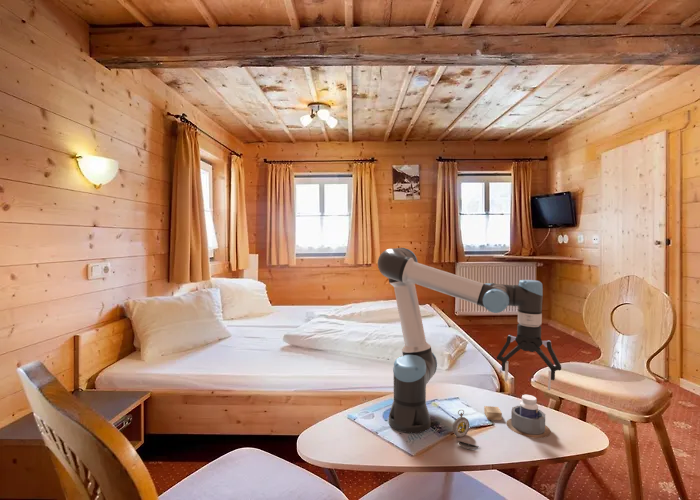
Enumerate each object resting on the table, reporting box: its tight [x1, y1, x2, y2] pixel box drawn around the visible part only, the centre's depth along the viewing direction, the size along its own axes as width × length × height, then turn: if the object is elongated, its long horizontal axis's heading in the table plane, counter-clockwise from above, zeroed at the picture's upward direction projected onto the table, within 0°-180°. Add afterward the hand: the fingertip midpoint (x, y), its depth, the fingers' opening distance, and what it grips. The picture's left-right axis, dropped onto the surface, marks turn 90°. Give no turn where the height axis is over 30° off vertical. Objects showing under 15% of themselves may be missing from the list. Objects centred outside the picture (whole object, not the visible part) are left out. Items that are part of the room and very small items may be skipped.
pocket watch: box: [452, 409, 479, 450], centre depth 120 cm, size 8×8×10 cm
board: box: [505, 418, 552, 439], centre depth 128 cm, size 14×14×1 cm
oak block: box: [483, 405, 503, 421], centre depth 135 cm, size 5×5×4 cm
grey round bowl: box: [510, 405, 546, 435], centre depth 127 cm, size 10×10×5 cm
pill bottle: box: [519, 394, 539, 418], centre depth 127 cm, size 6×6×10 cm
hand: (527, 384), depth 127 cm, fingers open, 13 cm apart
